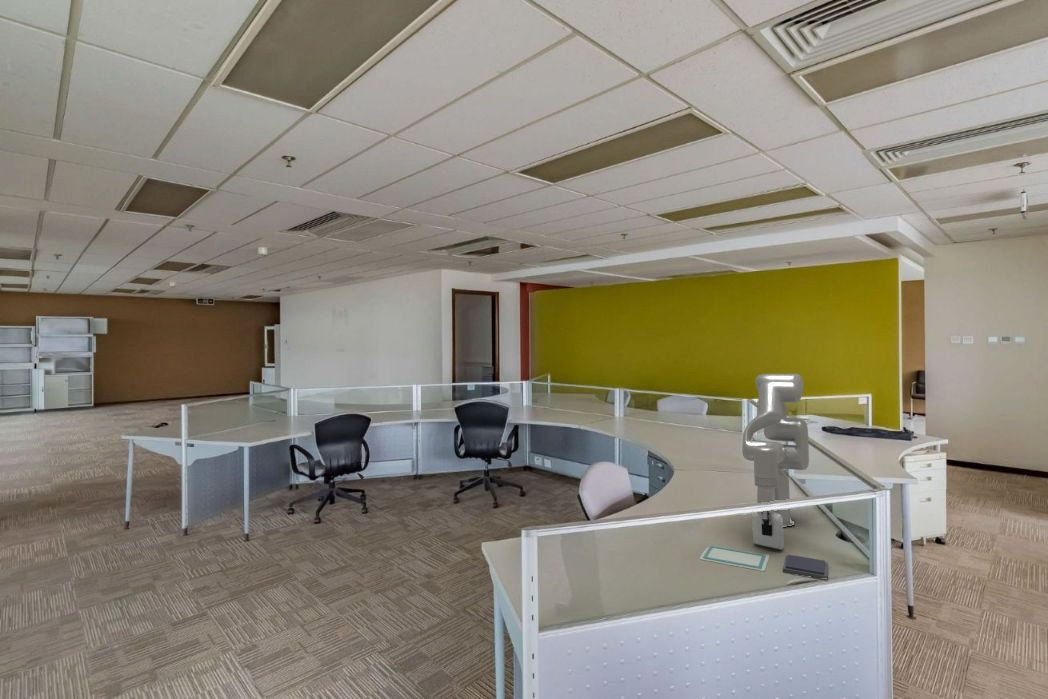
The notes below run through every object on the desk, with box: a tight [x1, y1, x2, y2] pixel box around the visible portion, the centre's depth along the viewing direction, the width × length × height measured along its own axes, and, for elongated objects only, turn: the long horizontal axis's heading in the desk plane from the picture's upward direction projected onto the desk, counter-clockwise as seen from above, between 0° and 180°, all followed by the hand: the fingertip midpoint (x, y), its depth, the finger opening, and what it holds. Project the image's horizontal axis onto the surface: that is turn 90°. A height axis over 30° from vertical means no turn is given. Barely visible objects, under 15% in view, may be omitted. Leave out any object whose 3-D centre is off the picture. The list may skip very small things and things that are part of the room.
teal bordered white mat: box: [698, 544, 770, 573], centre depth 170 cm, size 14×20×1 cm
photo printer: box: [751, 512, 785, 550], centre depth 178 cm, size 10×4×12 cm, turn 44°
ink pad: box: [782, 554, 829, 579], centre depth 160 cm, size 12×12×2 cm
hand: (768, 531), depth 178 cm, fingers closed on photo printer, 5 cm apart
